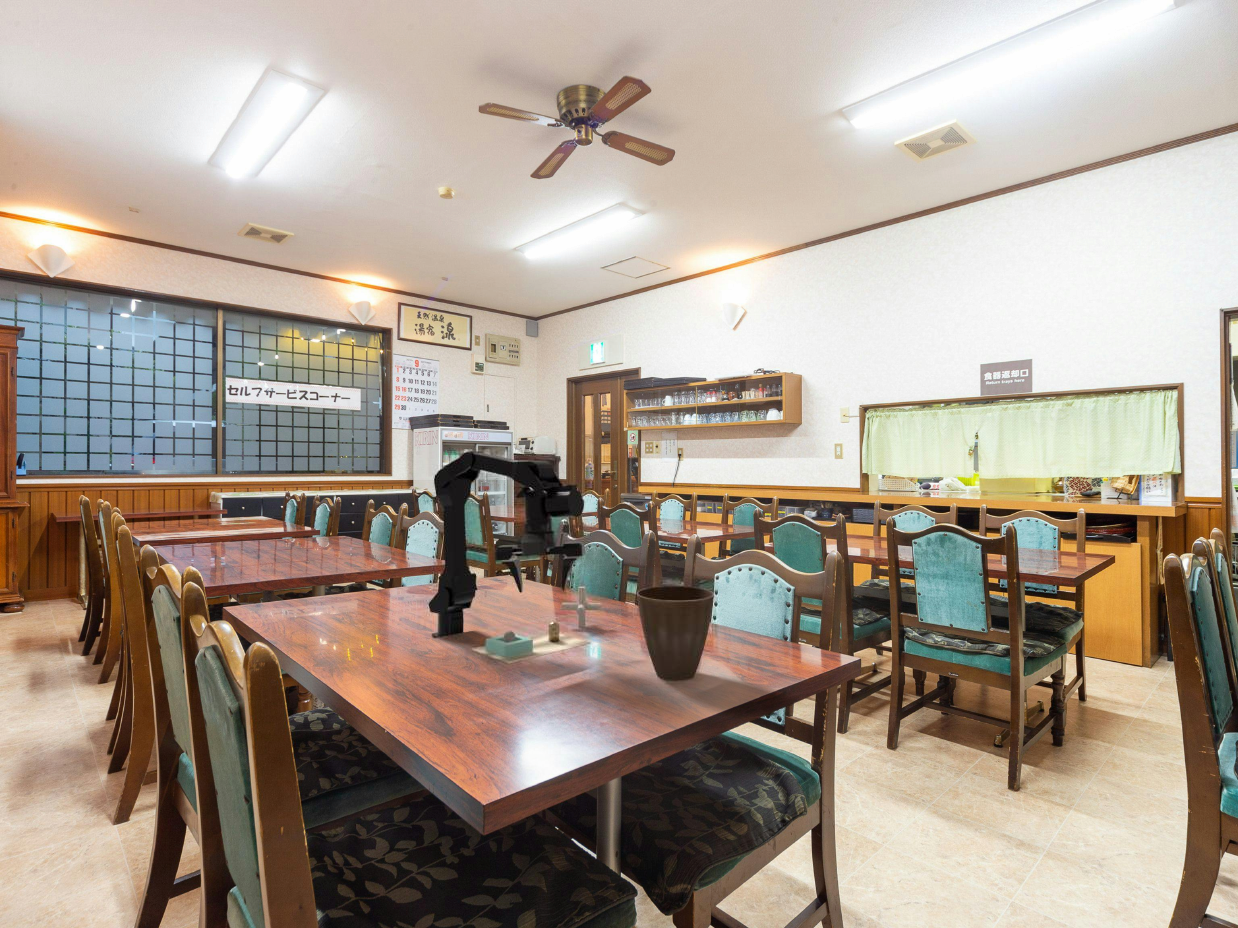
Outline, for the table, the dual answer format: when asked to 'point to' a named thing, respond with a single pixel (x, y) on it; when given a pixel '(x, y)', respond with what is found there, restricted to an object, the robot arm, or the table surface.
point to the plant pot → (675, 628)
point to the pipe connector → (581, 606)
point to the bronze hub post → (554, 632)
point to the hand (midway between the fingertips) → (542, 591)
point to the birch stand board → (536, 646)
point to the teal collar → (509, 646)
